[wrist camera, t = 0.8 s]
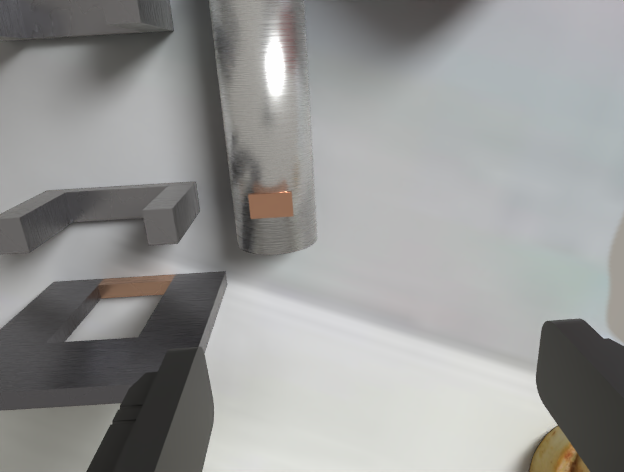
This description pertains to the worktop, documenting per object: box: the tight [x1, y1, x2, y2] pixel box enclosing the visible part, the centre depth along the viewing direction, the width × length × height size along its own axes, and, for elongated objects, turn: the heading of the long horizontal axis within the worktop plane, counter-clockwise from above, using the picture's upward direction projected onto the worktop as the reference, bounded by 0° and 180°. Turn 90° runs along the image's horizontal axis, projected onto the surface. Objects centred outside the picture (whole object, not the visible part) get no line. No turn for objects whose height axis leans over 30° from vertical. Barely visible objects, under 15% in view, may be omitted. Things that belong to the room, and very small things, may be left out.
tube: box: [209, 0, 317, 255], centre depth 27 cm, size 16×5×5 cm, turn 3°
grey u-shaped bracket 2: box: [0, 182, 200, 254], centre depth 28 cm, size 2×10×6 cm, turn 93°
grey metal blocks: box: [0, 0, 174, 41], centre depth 24 cm, size 2×10×6 cm, turn 93°
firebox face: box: [0, 271, 227, 410], centre depth 27 cm, size 1×12×12 cm, turn 93°
